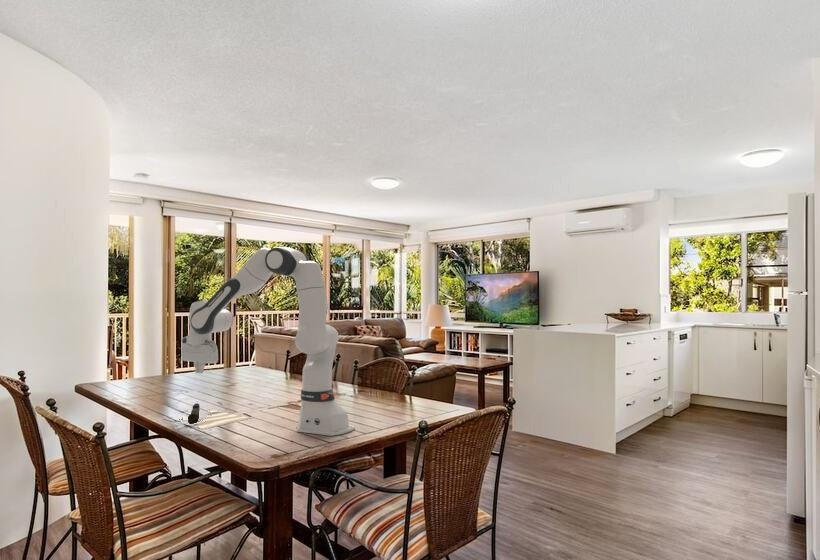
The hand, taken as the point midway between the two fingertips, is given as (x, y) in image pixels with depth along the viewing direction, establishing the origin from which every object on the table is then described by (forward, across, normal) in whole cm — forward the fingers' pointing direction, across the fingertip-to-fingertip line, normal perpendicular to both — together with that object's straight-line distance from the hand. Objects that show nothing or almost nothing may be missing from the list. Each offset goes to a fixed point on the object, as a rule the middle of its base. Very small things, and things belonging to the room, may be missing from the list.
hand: (199, 373), depth 203 cm
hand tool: (+18, -2, +4) cm, 18 cm away
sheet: (+18, -6, 0) cm, 19 cm away
